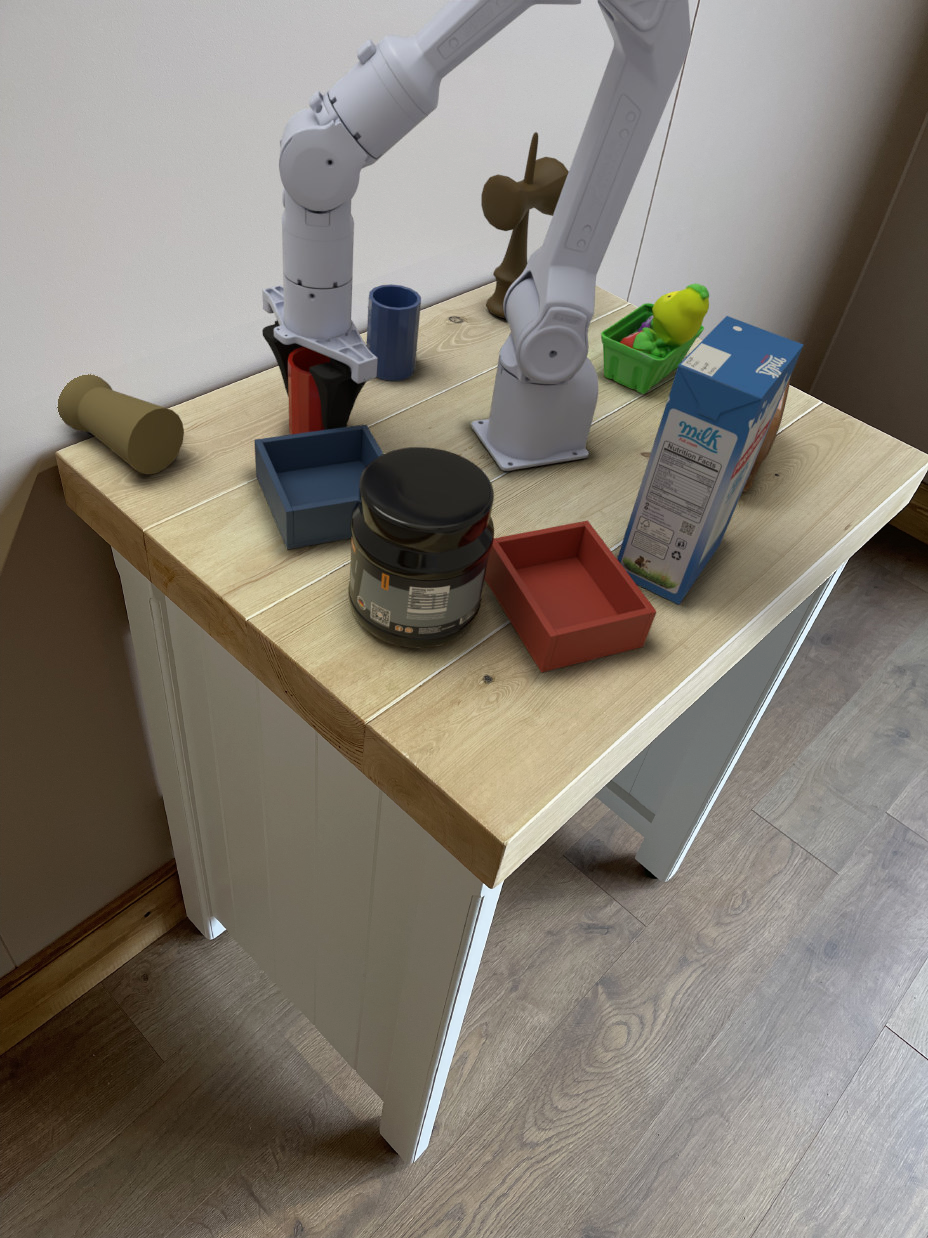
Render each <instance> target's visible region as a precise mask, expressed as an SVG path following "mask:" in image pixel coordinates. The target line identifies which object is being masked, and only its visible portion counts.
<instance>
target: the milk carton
mask: <svg viewBox="0 0 928 1238" xmlns="http://www.w3.org/2000/svg"><path fill="white" fill-rule="evenodd" d="M803 347H804V343H801V342H799V341H795V340H793V339H790V338H788V337H785V336H782V335H780V334H777V333H774V332H772V331H769V330H766V329H765V328H764V329H763V328H761V327H758V326H755V325H753V324H750V323H747V322H745V321H742V320H739V319H737V318H734V317H732V316H729V315H725V317H724V318H723V319H722V320H720V321H719V323H718V324H717V325H716V326H715V327H714V328H713V329H712V330H710V332H709V333H707V335H706V336H705V337H704V338H703V339H702V340H701V341H700V342H699V343H698V344H697V345H696V346H695V347H694V348H693V349H692V350H691V351H690V353H689V354H687V355H686V356H685V357H684V359H683V360H682V362H681V363H680V364H679V365H678V367H677V368H676V371H675V375H674V378H673V381H672V385H671V388H670V391H669V394H668V397H667V401H666V404H665V407H664V410H663V413H662V415H661V419H660V422H659V425H658V429H657V432H656V435H655V438H654V442H653V445H652V447H651V450H650V454H649V457H648V460H647V463H646V467H645V470H644V473H643V475H642V479H641V482H640V486H639V489H638V492H637V495H636V498H635V501H634V505H633V508H632V510H631V514H630V517H629V521H628V523H627V527H626V530H625V533H624V536H623V539H622V543H621V546H620V548H619V552H618V555H617V557H616V558H617V560H618V561H619V562H620V564H621V565H622V566H623V568H624V569H625V570H626V572H627V573H628V574H629V576H630V577H631V578H632V580H633V581H634V582H635V584H636V585H637V586H638V587H641V588H643V589H645V590H648V591H649V592H651V593H654V594H655V595H657V596H659V597H662V598H663V599H666V600H668V601H670V602H672V603H674V604H676V605H678V606H679V605H681V603H682V601H683V600H684V598H685V597H686V596H687V594H688V593H689V591H690V589H691V588H692V586H694V584H695V582H696V581H697V579H698V578H699V577H700V575H701V574H702V572H703V571H704V569H705V568H706V566H707V565H708V563H709V562H710V560H711V559H712V558H713V556H714V554H715V553H716V552H717V550H718V549H719V547H720V546H721V544H722V541H723V538H724V536H725V534H726V532H727V530H728V527H729V524H730V522H731V520H732V517H733V515H734V513H735V510H736V508H737V506H738V503H739V500H740V498H741V495H742V493H743V489H744V486H745V484H746V481H747V479H748V477H749V474H750V472H751V469H752V467H753V465H754V462H755V460H756V458H757V455H758V453H759V450H760V448H761V446H762V443H763V441H764V438H765V436H766V434H767V431H768V429H769V426H770V424H771V422H772V419H773V417H774V414H775V412H776V410H777V407H778V405H779V402H780V400H781V398H782V395H783V393H784V390H785V388H786V386H787V383H788V381H790V379H791V377H792V373H793V371H794V369H795V367H796V364H797V362H798V360H799V357H800V354H801V353H802V350H803Z"/></svg>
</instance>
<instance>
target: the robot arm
mask: <svg viewBox="0 0 928 1238" xmlns="http://www.w3.org/2000/svg"><path fill="white" fill-rule="evenodd" d="M581 3H582V0H448V1H447V2H445V4H443V6H442V7H441V8H440V9H439V10H438V11H437V12H436V13H435V14H434V15H433V16H432V17H431V18H430V19H429V20H428V21H427V22H426V23H425V24H424V25H423V26H422V27H421V28H420V29H419V30H418V31H417V33H416V34H414V35H399V34H386V35H385V36H384V37H383V38H382V39H381V40H379V42H377V44H375V43H374V42H373V40H372V39H370V38H368V39H366V40H365V41H364V42H363V43H362V44H361V45H360V46H359V47H358V48H357V49H356V58H357V59H358V60H359V61H357V63H356V64H354V65H353V66H352V68H350V69H349V70H348V71H347V72H346V73H345V74H344V75H343V76H342V77H340V78H339V80H338V81H336V83H334V84H333V85H332V86H331V87H330V88H329V89H328V90H327V91H326V92H324V94H323V93H321V91H319V90H317V91H316V92H315V93H314V94H313V95H311V96H310V97H309V99H308V105H309V107H310V108H308V107H306V108H305V107H304V108H303V109H301V110H298V111H297V112H296V113H294V114H293V115H292V116H291V117H290V118H289V119H288V121H287V123H285V126H284V128H283V132H282V135H281V139H280V140H279V149H280V150H279V152H280V153H279V158H278V159H279V160H278V169H279V176H280V180H281V184H282V186H283V190H282V206H283V209H284V210H283V211H282V215H281V239H282V240H281V241H282V242H281V244H282V245H281V246H282V250H281V251H282V285H281V284H277V285H275V286H270V287H267V288H263V289H262V291H261V292H262V293H261V295H262V310H263V311H265V312H266V313H267V314H271V315H272V314H274V317H275V318H276V320H274V323H273V324H269V325H266V326H264V327H263V328H262V331H261V332H262V337H263V338H264V340H265V341H266V343H267V344H268V346H269V348H270V350H271V351H272V352H271V353H272V354H273V356H274V358H275V360H276V364H277V365H278V366H277V367H278V368H279V372H280V375H281V378H282V382H283V385H284V388H285V391H286V395H287V398H288V399H289V397H288V357H289V354H290V353H291V352H292V351H294V350H295V349H297V348H300V347H303V346H304V347H306V348H309V349H311V350H314V351H316V352H318V353H321V354H323V355H326V356H328V357H330V362H325V363H322V364H318V365H315V366H312V367H310V368H309V372H310V373H311V375H312V377H313V379H314V381H315V383H316V386H317V389H318V392H319V397H320V402H321V413H322V422H323V426H324V429H325V430H328V429H335V428H343V427H348V424H349V420H350V418H351V415H352V411H353V408H354V406H355V404H356V401H357V399H358V396H359V395H360V393H361V391H362V390H363V388H364V386H365V385H366V383H367V382H368V381H371V380H375V379H377V377H376V376H377V359H378V358H377V357H376V356H375V355H373V354H372V353H371V352H370V350H369V349H368V348H367V346H366V345H367V343H366V342H365V341H364V339H363V337H362V335H361V334H360V332H359V330H358V328H357V326H356V325H355V323H354V321H353V319H352V311H353V310H352V308H353V307H352V306H353V279H354V278H353V273H354V266H353V265H354V241H355V239H354V238H355V219H354V217H353V215H352V200H353V198H354V196H355V194H356V192H357V190H358V187H359V184H360V176H361V171H362V169H364V168H366V167H369V166H372V165H375V164H376V163H377V161H379V159H381V158H382V157H383V156H384V155H385V154H386V153H387V152H389V151H390V150H391V149H393V147H394V146H395V145H397V144H398V143H399V142H400V141H401V140H402V139H403V138H405V137H406V136H407V135H408V134H409V133H411V131H412V130H414V129H415V128H416V127H417V126H418V125H419V124H420V123H421V122H423V121H424V120H425V119H426V118H427V117H429V115H430V114H431V113H432V112H434V111H435V110H436V109H437V108H438V105H439V98H440V87H441V82H442V80H443V79H444V78H445V77H447V76H448V74H450V73H451V72H452V71H454V70H455V69H456V68H457V67H459V65H461V64H462V63H463V62H465V61H466V60H467V59H468V58H469V57H470V56H472V55H473V54H475V52H477V51H478V50H480V49H481V48H482V47H483V46H484V45H485V44H487V43H488V42H489V41H490V40H491V39H493V38H494V37H496V35H498V34H499V33H500V32H501V31H503V30H504V29H505V28H506V27H507V26H509V25H510V24H511V23H512V22H513V21H515V20H516V19H518V17H520V16H521V15H523V14H524V13H525V12H526V11H527V10H528V9H530V8H531V7H533V6H536V5H559V6H560V5H564V6H565V5H569V6H574V5H580V4H581ZM597 4H598V7H599V9H600V12H601V15H602V16H603V18H604V21H605V23H606V26H607V28H608V30H609V33H610V35H611V37H612V40H613V48H612V50H611V53H610V56H609V59H608V61H607V64H606V66H605V70H604V72H603V76H602V78H601V80H600V84H599V86H598V89H597V92H596V95H595V97H594V100H593V103H592V106H591V109H590V112H589V114H588V117H587V120H586V121H585V122H586V123H585V126H584V128H583V131H582V133H581V136H580V139H579V142H578V145H577V148H576V151H575V153H574V156H573V159H572V162H571V164H570V167H569V170H568V171H569V172H568V175H567V178H566V181H565V184H564V186H563V189H562V192H561V195H560V198H559V200H558V203H557V206H556V209H555V211H554V214H553V216H552V217H551V220H550V223H549V226H548V228H547V231H546V234H545V237H544V240H543V242H542V245H541V246H540V247H539V248H537V249H536V250H535V251H533V252H532V253H531V254H530V255H529V257H528V259H527V266H526V268H525V270H524V271H523V273H522V274H521V275H520V277H519V278H518V279H516V280H515V281H514V282H513V283H512V285H511V286H510V287H509V289H508V291H507V293H506V295H505V298H504V304H503V307H504V314H505V317H506V318H505V320H506V323H507V324H508V326H509V330H510V333H509V334H508V336H507V338H506V339H505V341H504V343H503V344H502V346H501V347H500V350H499V352H498V359H497V367H496V373H495V378H494V385H493V390H492V398H491V404H490V410H489V416H488V418H485V419H477V420H473V421H471V422H470V427H471V429H472V430H473V432H474V433H475V434H476V436H477V437H478V439H479V440H480V442H481V443H482V444H483V446H484V448H485V449H486V451H487V452H488V453H489V454H490V456H491V457H492V459H493V460H494V462H495V463H496V464H497V466H498V467H499V469H500V470H501V471H504V472H509V471H515V470H516V471H517V470H521V469H528V468H532V467H539V466H546V465H553V464H558V463H564V462H570V461H577V460H582V459H583V460H584V459H586V458H588V457H589V454H590V452H589V451H588V450H587V449H586V447H587V446H586V445H587V444H588V443H587V442H588V439H589V435H590V431H591V427H592V422H593V421H594V420H593V419H594V415H595V411H596V407H597V404H598V399H599V378H598V373H597V371H596V368H595V366H594V364H593V362H592V361H591V359H590V358H589V357H588V355H589V347H590V346H589V345H590V344H589V336H588V334H589V328H590V325H591V323H592V320H593V318H594V314H595V307H596V305H595V303H596V286H597V285H596V284H597V283H596V282H597V275H598V273H599V270H600V268H601V265H602V263H603V260H604V258H605V255H606V253H607V250H608V248H609V246H610V243H611V242H612V241H611V240H612V239H613V236H614V233H615V231H616V228H617V226H618V224H619V222H620V219H621V216H622V214H623V211H624V210H625V207H626V204H627V202H628V199H629V197H630V195H631V192H632V190H633V187H634V185H635V182H636V180H637V177H638V175H639V172H640V170H641V167H642V165H643V162H644V161H645V159H646V155H647V154H648V151H649V147H650V145H651V143H652V141H653V138H654V136H655V134H656V131H657V128H658V126H659V123H660V121H661V119H662V116H663V114H664V112H665V109H666V107H667V104H668V102H669V99H670V97H671V95H672V92H673V90H674V88H675V84H676V82H677V80H678V77H679V75H680V72H681V70H682V68H683V65H684V62H685V60H686V58H687V56H688V53H689V49H690V45H691V41H692V39H691V38H692V32H691V31H692V30H691V20H690V17H691V16H690V5H689V0H597Z"/></svg>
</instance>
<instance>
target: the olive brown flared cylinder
mask: <svg viewBox="0 0 928 1238" xmlns="http://www.w3.org/2000/svg"><path fill="white" fill-rule="evenodd" d="M91 374H92V373H90V375H89V374H88V375H82V376H79V377H77V378H74V379H73V380H71V381H70V382H69V383H67V385H66V386H65V387H64V389H63V390H62V392H61V394H60V396H59V399H58V407H57V408H58V412H59V415H60V416H59V415H58V416H59V417H60V419H61V418H62V419H61V421H62V422H63V423H64V424H65V425H67V426H69V427H70V428H72V429H73V430H75V431H80V432H84V433H90V434H91V435H93V436H94V437H95V438H96V439H98V440H99V441H100V442H101V443H102V444H104V445H105V446H106V447H107V448H109V449H110V450H111V451H112V452H113V453H114V454H116V455H117V456H118V457H119V458H121V459H122V460H123V461H125V462H126V464H128V465H130V466H131V467H132V468H133V469H134V470H135V471H137V472H138V473H140V474H143V475H154V474H158V473H160V472H162V471H164V470H165V469H167V468H168V467H169V466H170V465H171V464H172V463H173V462H174V461H175V460H176V458H177V456H178V455H179V453H180V451H181V448H182V446H183V442H184V435H185V430H184V424H183V421H182V419H181V417H180V415H179V414H178V413H176V411H174V410H173V409H171V408H167V407H164V406H161V405H158V404H156V403H152V402H150V401H146V400H143V399H140V398H137V397H135V396H131V395H128V394H125V393H122V392H120V391H116V390H113V388H112V386H111V385H110V384H109V382H107V381H106V380H105V379H103V378H102V377H100V376H99V377H98V375H97V376H95V375H96V374H93V375H91ZM57 408H56V409H57ZM58 412H57V413H58Z"/></svg>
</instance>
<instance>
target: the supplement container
mask: <svg viewBox="0 0 928 1238" xmlns="http://www.w3.org/2000/svg"><path fill="white" fill-rule="evenodd" d="M494 491H495V490H494V487H493V484H492V482H491V480H490V478H489V477H488V476H487V474H486V472H485V471H483V470H482V469H481V468H480V467H479V466H478V465H476V464H475V462H473V461H471V460H470V459H467V458H466V457H464V456H462V455H459V454H458V453H454V452H452V451H449V450H446V449H440V448H436V447H424V446H413V447H411V446H410V447H404V448H398V449H393V450H391V451H388V452H385V453H383V455H381V456H379V457H377V458H376V459H374V460H373V461H372V462H370V463H369V464H368V465H367V466H366V468H365V469H364V471H363V472H362V474H361V477H360V482H359V498H358V501H357V503H356V504H355V506H354V508H353V511H352V514H351V519H350V531H351V538H350V539H351V540H350V560H349V562H350V564H349V565H350V566H349V581H348V586H347V597H348V604H349V607H350V610H351V611H352V614H353V617H354V618H355V619H356V621H357V622H358V623H359V625H360V626H362V627H363V628H364V630H366V631H367V632H368V633H370V634H371V635H373V636H374V637H376V638H377V639H379V640H381V641H384V642H386V643H389V644H392V645H394V646H399V647H403V648H412V649H425V648H434V647H439V646H443V645H445V644H448V643H450V642H453V641H455V640H456V639H458V638H460V637H461V636H463V635H464V634H465V633H466V632H467V631H468V630H469V629H470V628H471V627H472V626H473V625H474V623H475V622H476V620H477V618H478V616H479V614H480V610H481V606H482V595H483V589H484V584H485V574H486V568H487V563H488V557H489V552H490V550H491V548H492V545H493V540H494V538H495V525H494V521H493V518H492V512H493V506H494V500H495V492H494Z"/></svg>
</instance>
